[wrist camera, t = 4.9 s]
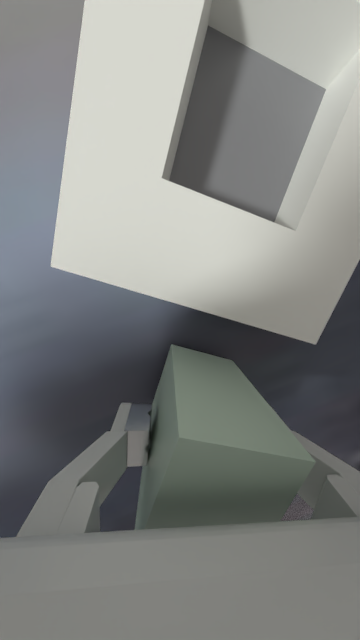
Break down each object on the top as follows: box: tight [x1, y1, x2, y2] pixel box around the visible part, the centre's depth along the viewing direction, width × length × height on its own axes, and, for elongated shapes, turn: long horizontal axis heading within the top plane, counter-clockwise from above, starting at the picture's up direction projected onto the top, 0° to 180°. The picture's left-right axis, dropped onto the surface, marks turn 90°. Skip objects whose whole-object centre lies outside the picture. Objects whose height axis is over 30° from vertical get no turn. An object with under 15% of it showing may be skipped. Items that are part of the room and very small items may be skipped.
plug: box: [134, 344, 316, 530], centre depth 8 cm, size 5×4×6 cm
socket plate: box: [51, 0, 360, 345], centre depth 7 cm, size 16×13×2 cm
